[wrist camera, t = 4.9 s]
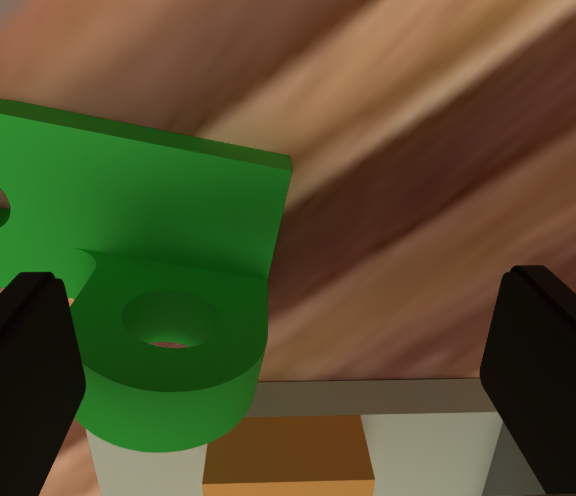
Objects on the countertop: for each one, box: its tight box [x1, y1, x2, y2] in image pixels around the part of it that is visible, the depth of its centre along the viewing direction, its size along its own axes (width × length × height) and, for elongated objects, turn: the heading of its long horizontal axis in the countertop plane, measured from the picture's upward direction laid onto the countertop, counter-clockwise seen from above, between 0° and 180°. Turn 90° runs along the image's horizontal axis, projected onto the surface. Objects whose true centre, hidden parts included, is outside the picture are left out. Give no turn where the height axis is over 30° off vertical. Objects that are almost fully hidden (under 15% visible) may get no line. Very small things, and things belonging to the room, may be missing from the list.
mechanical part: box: [0, 99, 292, 453], centre depth 14 cm, size 12×6×8 cm, turn 78°
